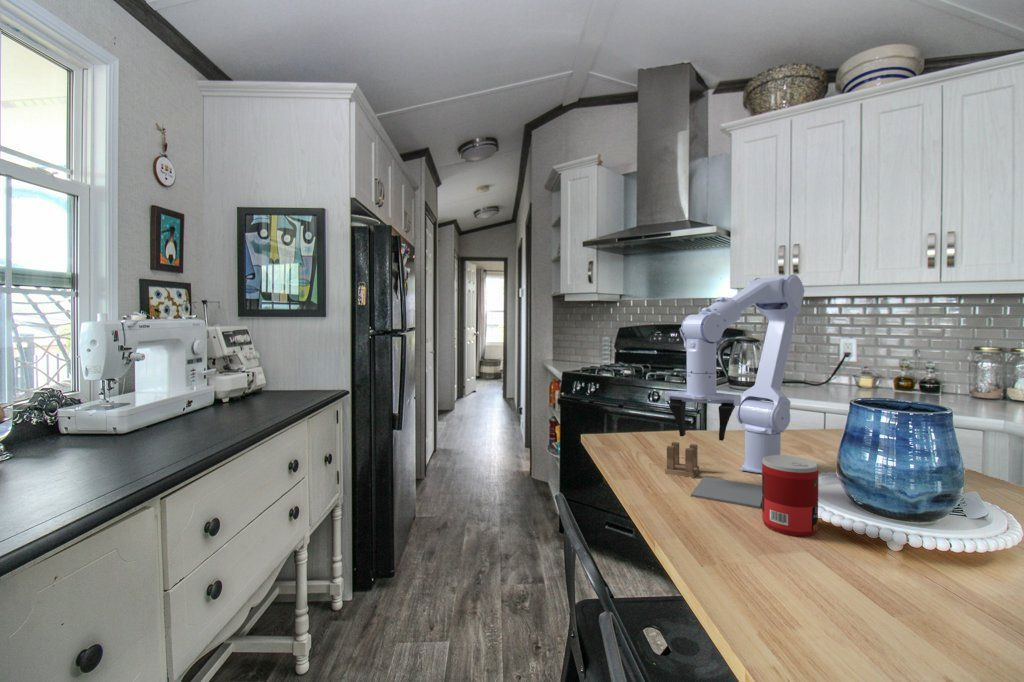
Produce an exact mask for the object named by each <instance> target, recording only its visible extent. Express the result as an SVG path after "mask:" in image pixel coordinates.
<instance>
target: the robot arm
mask: <svg viewBox="0 0 1024 682" xmlns="http://www.w3.org/2000/svg"><path fill="white" fill-rule="evenodd" d="M746 284H747V285H746V286H745V287H744V288H743V289H742V290H740V291H738V292H737V293H736V294H735V295H734V296H732V297H731V298H730V297H724V296H722V297H721V296H719V297H717V298H715V300H714V301H715V302H714V303H712V304H711V305H709V306H707V307H703V308H702V309H701V311H700V312H699V313H698V314H688V315H687V316H686V317H685V318H684V320H682V323H681V326H680V327H679V333H680V337H681V338H682V340H683V348H685V350H686V390H666V391H665V392H664V401H665V402H669V404H668V407H669V409H670V411H671V412H672V414H673V417H674V419H675V421H676V424H677V429H678V433H679V437H684V436H686V405H687V403H700V404H702V403H703V404H715V405H718V419H719V429H718V441H724V440H725V437H726V436H725V435H726V430H727V428H728V427H727V426H728V423H729V421H730V418H731V416H732V414H733V412H734V409H735V408H736V410H735V413H736V414H735V415H736V419H737V421H738V423H739V424H740V425H741V429H744V461H743V464H742V465H741V468H740V471H742V472H743V471H744V472H749V473H757V474H762V461H763V458H764V457H766V456H771V455H781V451H782V450H781V449H782V448H781V443H782V442H781V441H782V440H781V439H782V437H781V436H782V435H781V434H782V433H784V432H785V430H786V429H787V428H788V427H789V424H790V422H791V411H790V410H791V409H790V407H791V400H790V399H789V398H788V397H787V396H786V395H785V394H784V393H783V391H781V390H782V383H783V380H784V376H785V370H786V366H787V362H788V361H787V360H788V359H789V358H788V357H789V353H790V350H791V349H790V348H791V344H792V338H793V334H794V330H795V325H796V322H797V316H798V315H799V314H800V313H801V308H802V305H803V304H802V303H803V299H804V294H805V288H804V285H803V282H802V280H801V279H800V277H799V276H798V275H796V274H788V275H783V276H779V275H778V276H771V277H755V278H753V279H752V280H750V281H748V282H747V283H746ZM753 305H754V306H755V308H756V309H757V310H758V311H759V313H760V314H761V315H762V316H764V317H766V318H767V320H768V324H767V329H766V332H765V338H764V342H763V347H762V349H761V355H760V360H759V365H758V369H757V374H756V377H755V382H754V385H752V386H751V387H749V388H748V389H746V390H745V391H743V393H742V396H741V394H734V393H733V394H731V393H723V392H722V393H721V392H717V342H719V341H720V340H721V338H722V337H723V334H724V331H725V330H727V328H729V327H730V326H732V325H734V324H735V323H736V322H738V321H739V320H740V319H741V317H742V312H743V311H745V310H747V309H749V308H750V307H752V306H753Z"/></svg>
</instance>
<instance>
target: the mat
mask: <svg viewBox="0 0 1024 682" xmlns="http://www.w3.org/2000/svg"><path fill="white" fill-rule="evenodd" d="M693 496H694V497H693ZM690 497H693V498H698V497H700V498H699V499H704V498H706V500H709V499H710V501H715V502H723V503H726V502H727V504H733V505H738V504H739V505H738V506H745V507H750V508H755V509H761V507H762V484H754V483H748V482H741V481H734V480H729V479H721V478H713V477H708V476H702V478H701V480H700V481H699V483H698V484H697V485H696V487H695V488H694V489H693V491H692V492H691V494H690Z"/></svg>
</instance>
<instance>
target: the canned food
mask: <svg viewBox="0 0 1024 682" xmlns="http://www.w3.org/2000/svg"><path fill="white" fill-rule="evenodd" d="M761 486H762V503H761V518H762V521H763V524H764V526H765V527H766V528H768V529H769V530H770V531H771V530H772V531H773V532H776V533H778V534H782V535H787V536H791V537H809V536H813V535H815V534H816V533H817V532H818V531H817V530H818V528H819V464H818V463H817V462H815V461H813V460H811V459H808V458H804V457H801V456H795V455H794V456H793V455H784V454H780V455H771V456H766V457H764V458H763V461H762V473H761Z"/></svg>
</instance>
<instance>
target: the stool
mask: <svg viewBox="0 0 1024 682" xmlns="http://www.w3.org/2000/svg"><path fill="white" fill-rule="evenodd" d="M684 454H685V455H684V459H685V460H684V462H685V463H680V442H679V441H672V442H671V445H667V446H666V468H665V469H664V473H665V475H668V474H671V475H670V476H674V475H677V476H676V477H680V476H684V477H683V478H687V477H691V478H690V479H694V478H695V477H696V476H697V474H698V473H699V472H700V466H699V465H698V460H699V459H698V444H695V443H690V444H689V447H686V448H685V450H684ZM698 471H699V472H698ZM695 475H696V476H695ZM694 476H695V477H694ZM693 477H694V478H693Z"/></svg>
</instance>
